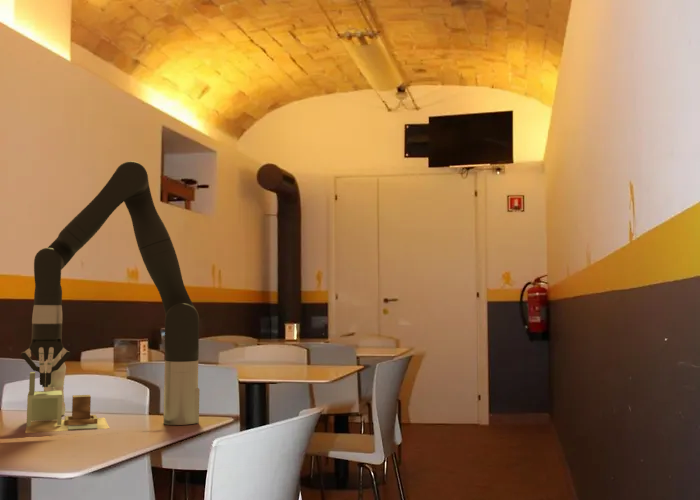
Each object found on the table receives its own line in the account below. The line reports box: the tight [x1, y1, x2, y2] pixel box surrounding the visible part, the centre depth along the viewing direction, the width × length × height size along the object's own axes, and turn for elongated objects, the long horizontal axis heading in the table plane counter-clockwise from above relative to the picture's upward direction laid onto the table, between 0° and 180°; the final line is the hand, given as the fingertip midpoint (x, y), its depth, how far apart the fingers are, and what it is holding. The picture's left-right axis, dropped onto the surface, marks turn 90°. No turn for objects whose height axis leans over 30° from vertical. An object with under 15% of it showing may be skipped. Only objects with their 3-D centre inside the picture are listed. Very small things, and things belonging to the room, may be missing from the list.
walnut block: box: [71, 394, 92, 420], centre depth 204 cm, size 4×4×7 cm
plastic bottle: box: [43, 351, 67, 417], centre depth 217 cm, size 6×7×20 cm
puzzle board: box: [25, 414, 110, 438], centre depth 199 cm, size 20×20×2 cm
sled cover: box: [26, 371, 63, 427], centre depth 201 cm, size 8×11×13 cm
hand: (45, 386), depth 201 cm, fingers closed
